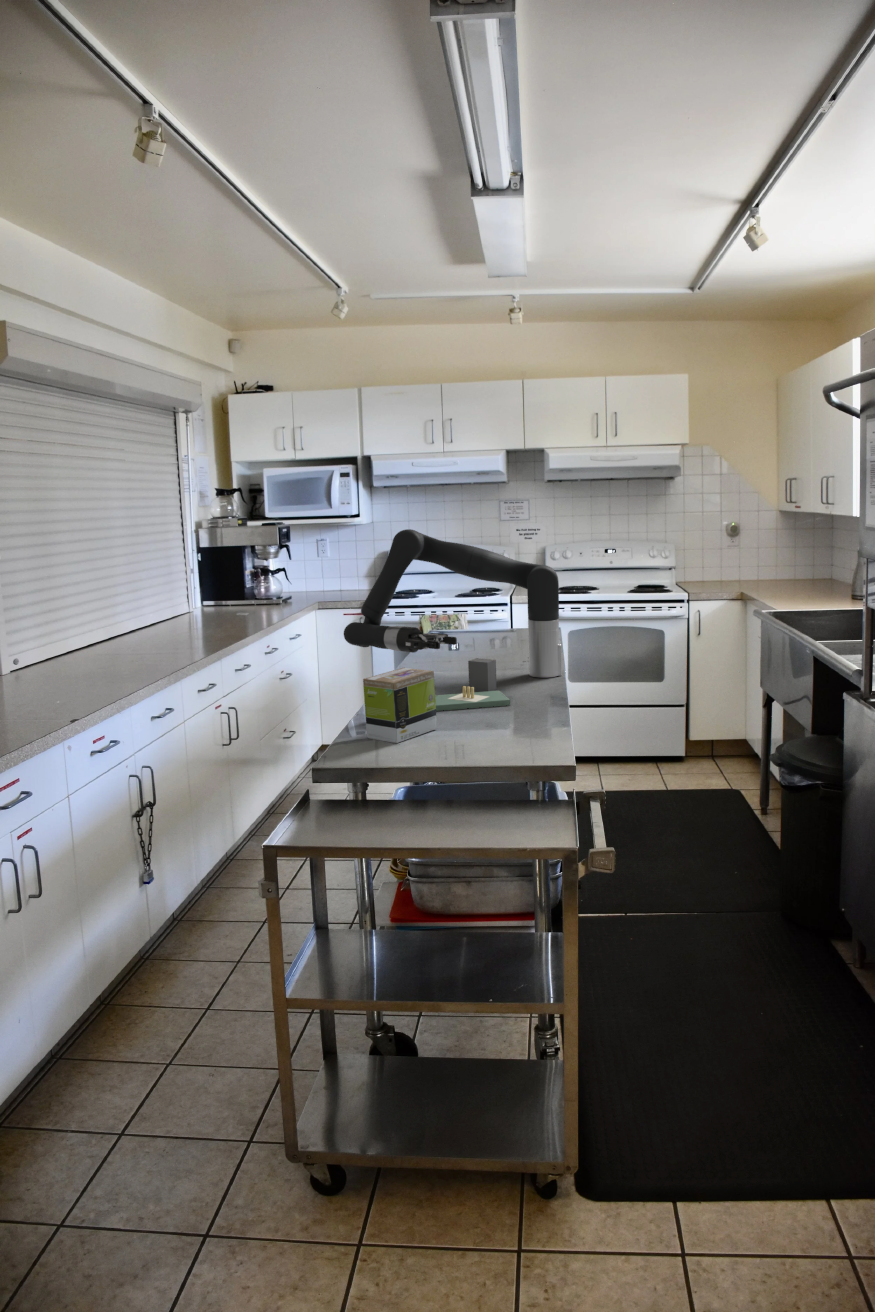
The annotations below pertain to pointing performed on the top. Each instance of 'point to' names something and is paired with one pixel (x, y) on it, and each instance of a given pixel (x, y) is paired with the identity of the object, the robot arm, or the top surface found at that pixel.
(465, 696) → the board
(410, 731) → the tea box
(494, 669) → the dark grey rectangular block
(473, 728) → the top surface
